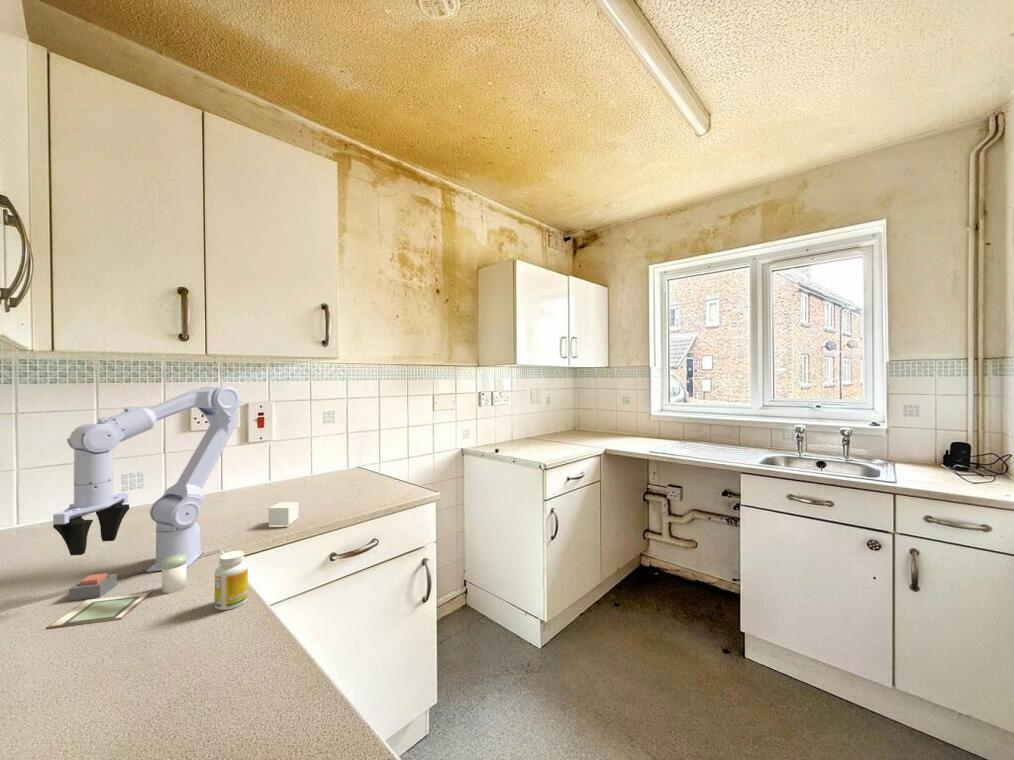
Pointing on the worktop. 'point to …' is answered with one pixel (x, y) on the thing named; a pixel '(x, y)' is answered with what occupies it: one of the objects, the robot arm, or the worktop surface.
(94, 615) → the picture board
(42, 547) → the worktop surface
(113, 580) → the button housing
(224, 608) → the supplement bottle
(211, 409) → the robot arm
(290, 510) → the white cube
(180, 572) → the green and cream cylinder
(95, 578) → the button
